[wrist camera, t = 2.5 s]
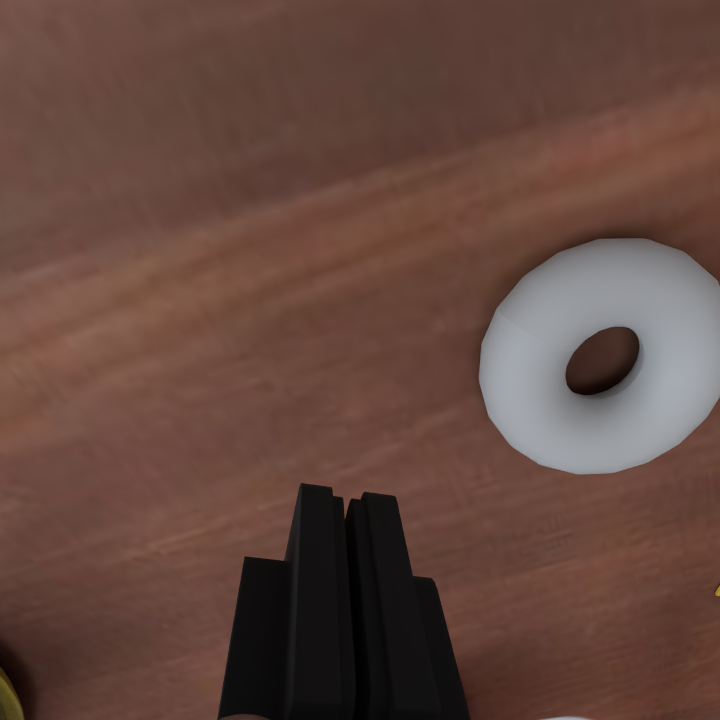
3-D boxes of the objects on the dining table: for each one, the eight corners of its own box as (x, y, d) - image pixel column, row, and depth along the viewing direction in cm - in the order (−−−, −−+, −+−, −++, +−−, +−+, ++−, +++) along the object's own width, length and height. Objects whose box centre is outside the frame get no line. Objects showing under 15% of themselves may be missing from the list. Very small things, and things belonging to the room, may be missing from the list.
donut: (651, 454, 27) (741, 246, 23) (694, 501, 24) (807, 270, 20) (446, 433, 26) (503, 210, 22) (463, 479, 23) (533, 230, 19)
